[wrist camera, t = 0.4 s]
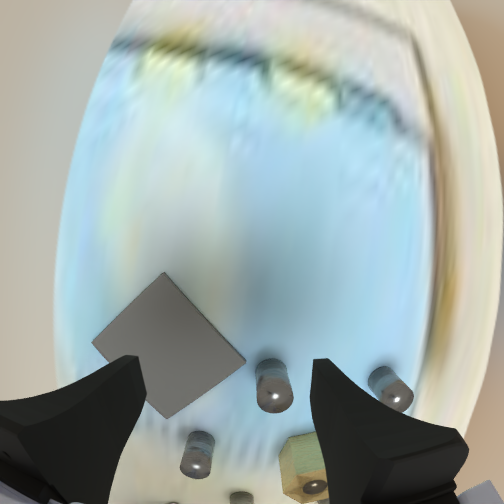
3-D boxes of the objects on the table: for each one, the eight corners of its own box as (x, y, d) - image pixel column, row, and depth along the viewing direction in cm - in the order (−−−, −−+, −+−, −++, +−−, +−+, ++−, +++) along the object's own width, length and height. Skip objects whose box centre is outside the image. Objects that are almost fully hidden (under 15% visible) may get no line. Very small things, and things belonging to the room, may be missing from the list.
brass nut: (302, 473, 23) (310, 508, 18) (269, 449, 23) (273, 487, 18) (339, 450, 23) (353, 484, 18) (309, 424, 23) (320, 461, 18)
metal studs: (282, 527, 24) (285, 550, 20) (147, 440, 23) (134, 467, 19) (437, 429, 23) (454, 449, 19) (336, 300, 22) (353, 315, 18)
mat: (167, 416, 22) (166, 419, 22) (93, 340, 22) (91, 342, 21) (246, 360, 22) (246, 362, 22) (164, 272, 21) (162, 273, 21)
